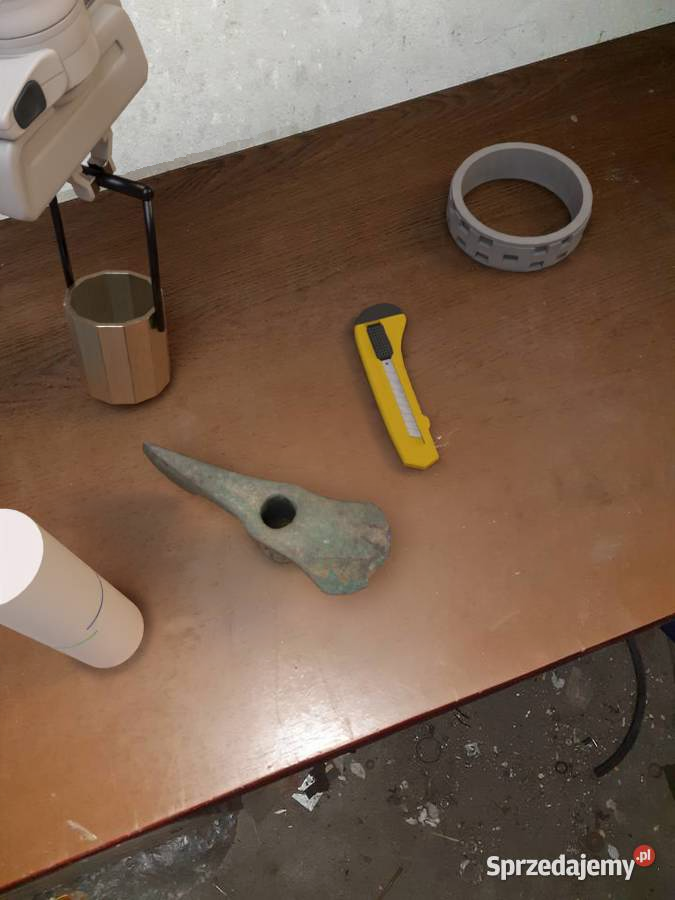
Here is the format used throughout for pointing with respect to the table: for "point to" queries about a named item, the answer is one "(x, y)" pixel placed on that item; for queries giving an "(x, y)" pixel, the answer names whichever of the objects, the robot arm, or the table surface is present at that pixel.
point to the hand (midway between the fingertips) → (97, 184)
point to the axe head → (291, 521)
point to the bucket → (117, 314)
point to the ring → (529, 166)
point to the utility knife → (394, 384)
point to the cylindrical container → (62, 597)
